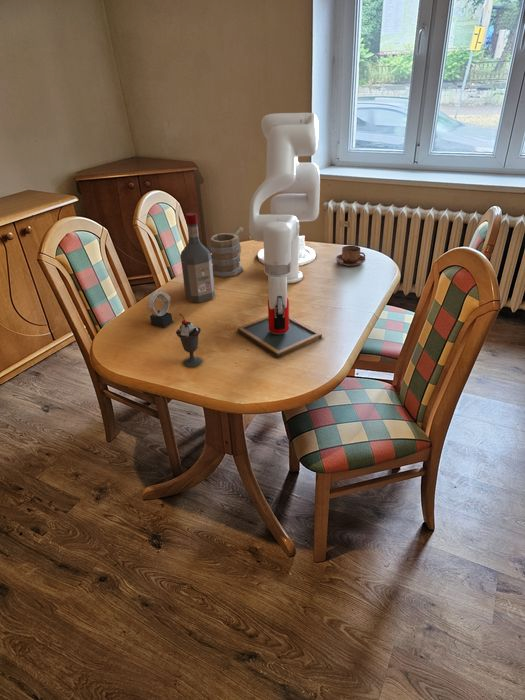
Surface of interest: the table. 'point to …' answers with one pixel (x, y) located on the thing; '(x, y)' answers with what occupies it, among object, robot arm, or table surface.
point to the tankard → (226, 254)
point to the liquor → (196, 265)
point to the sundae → (189, 341)
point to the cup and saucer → (351, 256)
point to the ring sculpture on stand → (159, 316)
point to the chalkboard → (279, 336)
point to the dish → (304, 253)
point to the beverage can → (271, 319)
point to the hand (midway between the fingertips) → (278, 323)
